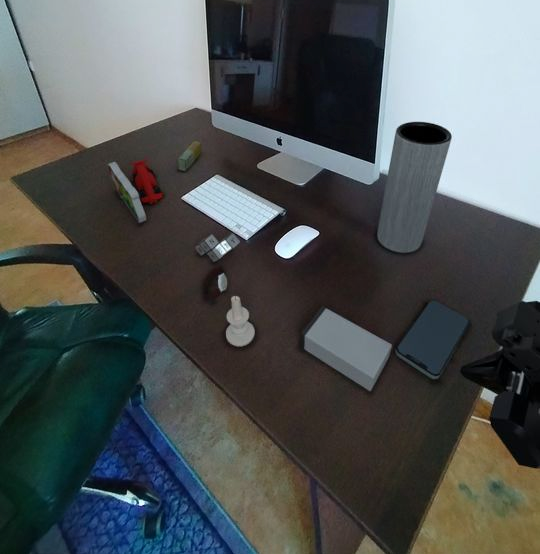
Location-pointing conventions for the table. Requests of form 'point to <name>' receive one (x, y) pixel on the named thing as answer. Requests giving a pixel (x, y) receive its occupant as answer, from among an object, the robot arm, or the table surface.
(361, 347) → the box with lid
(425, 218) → the planter
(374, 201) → the table surface
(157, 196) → the toy car
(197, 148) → the medication box
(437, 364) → the smartphone
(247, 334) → the candle
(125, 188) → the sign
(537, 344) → the robot arm
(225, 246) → the building blocks
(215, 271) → the watch
